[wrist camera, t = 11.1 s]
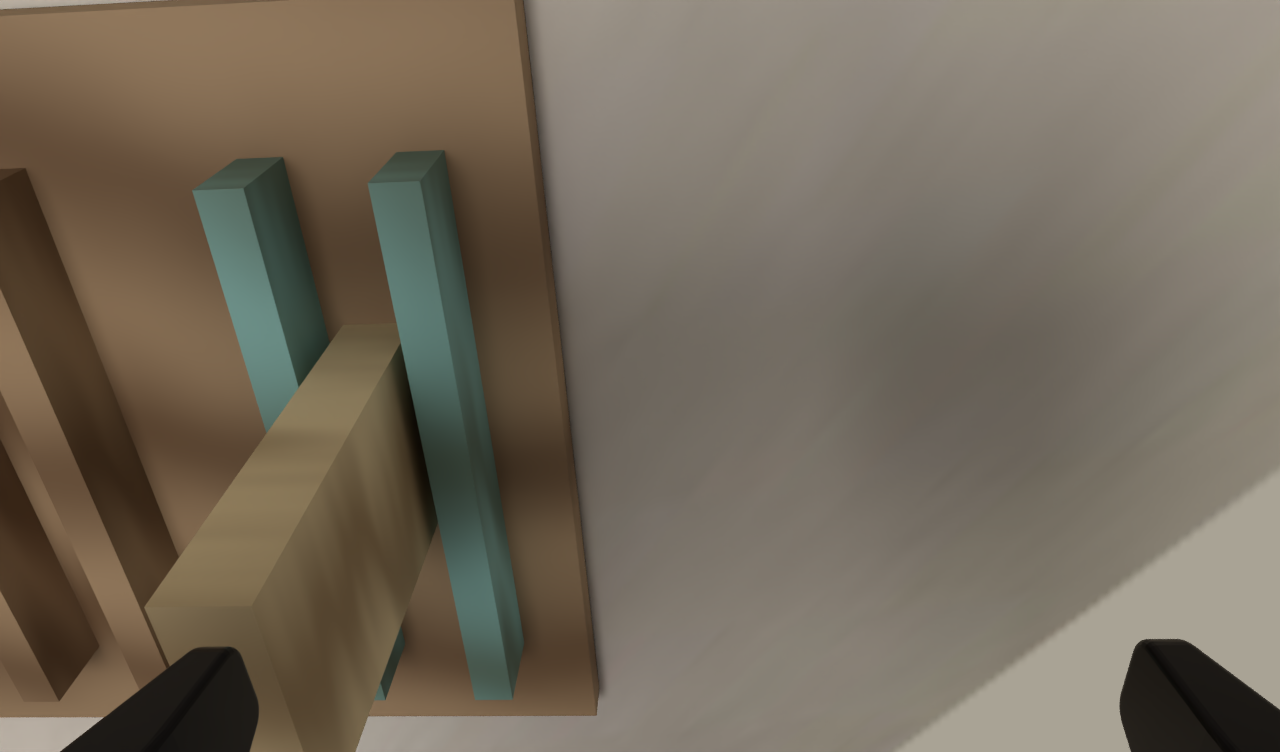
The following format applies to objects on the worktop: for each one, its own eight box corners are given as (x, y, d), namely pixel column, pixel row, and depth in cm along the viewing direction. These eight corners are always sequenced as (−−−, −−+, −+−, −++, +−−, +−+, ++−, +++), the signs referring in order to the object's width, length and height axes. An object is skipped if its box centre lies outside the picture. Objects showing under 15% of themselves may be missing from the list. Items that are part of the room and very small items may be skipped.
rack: (599, 688, 28) (590, 774, 26) (-144, 692, 30) (-224, 773, 27) (521, -19, 18) (493, 4, 16) (-590, 42, 20) (-781, 72, 17)
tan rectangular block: (446, 498, 24) (329, 823, 16) (385, 499, 24) (238, 823, 16) (411, 322, 21) (251, 606, 13) (343, 324, 21) (144, 606, 13)
